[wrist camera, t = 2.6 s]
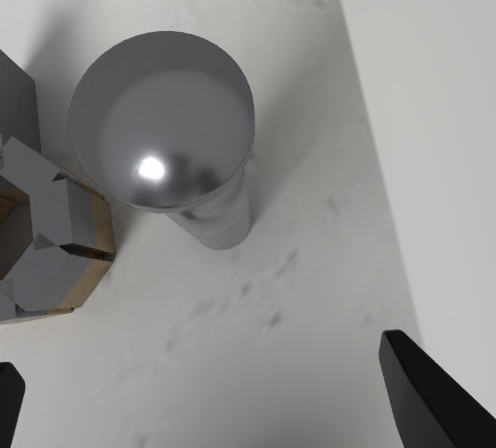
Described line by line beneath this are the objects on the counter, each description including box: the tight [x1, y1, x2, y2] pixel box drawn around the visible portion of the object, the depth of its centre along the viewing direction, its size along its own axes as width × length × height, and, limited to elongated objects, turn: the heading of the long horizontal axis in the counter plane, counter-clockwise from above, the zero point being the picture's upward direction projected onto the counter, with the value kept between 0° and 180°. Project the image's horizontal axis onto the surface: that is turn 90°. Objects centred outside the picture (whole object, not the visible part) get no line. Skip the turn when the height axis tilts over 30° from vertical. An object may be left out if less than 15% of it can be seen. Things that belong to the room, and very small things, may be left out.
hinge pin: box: [69, 31, 255, 250], centre depth 16 cm, size 4×4×13 cm
